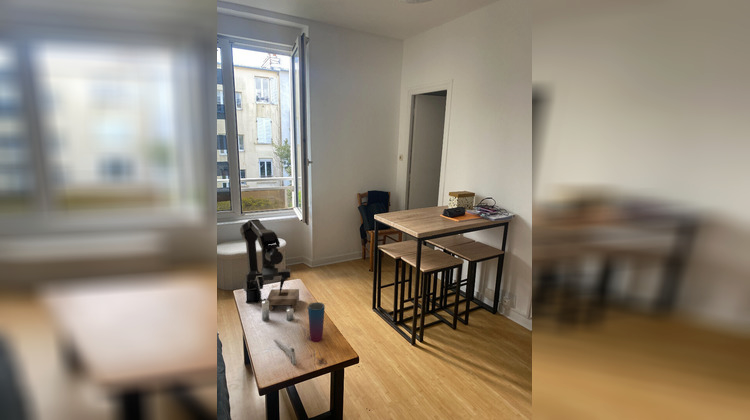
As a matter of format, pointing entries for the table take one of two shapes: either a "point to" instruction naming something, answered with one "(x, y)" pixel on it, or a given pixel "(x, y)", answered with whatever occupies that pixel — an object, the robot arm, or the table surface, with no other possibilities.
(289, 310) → the short pin
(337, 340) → the table surface
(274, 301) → the board
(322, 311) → the cup
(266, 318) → the long pin
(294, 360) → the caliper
